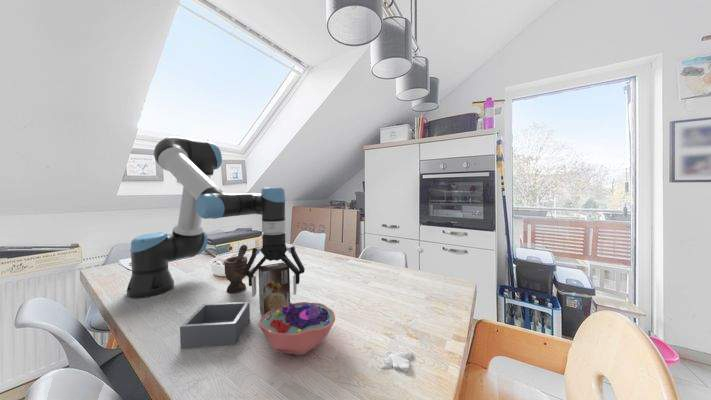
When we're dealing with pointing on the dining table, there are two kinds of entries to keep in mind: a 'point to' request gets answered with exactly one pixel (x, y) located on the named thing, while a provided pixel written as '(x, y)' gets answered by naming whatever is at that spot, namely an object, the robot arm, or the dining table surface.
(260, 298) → the coffee box
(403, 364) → the acanthus leaf ornament
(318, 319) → the cell model
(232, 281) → the mortar and pestle
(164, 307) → the dining table surface
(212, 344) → the open square bin
